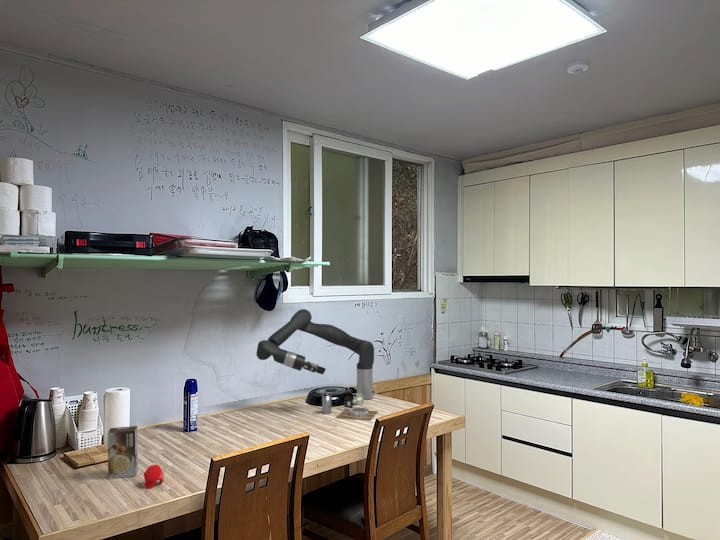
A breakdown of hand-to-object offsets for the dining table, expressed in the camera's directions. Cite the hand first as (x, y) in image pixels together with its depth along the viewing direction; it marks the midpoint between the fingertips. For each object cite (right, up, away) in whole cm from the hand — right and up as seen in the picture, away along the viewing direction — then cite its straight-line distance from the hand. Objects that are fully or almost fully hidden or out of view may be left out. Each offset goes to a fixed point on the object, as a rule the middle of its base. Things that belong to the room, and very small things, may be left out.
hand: (324, 371), depth 256 cm
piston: (+1, -22, +1) cm, 22 cm away
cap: (-51, -21, -86) cm, 103 cm away
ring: (+18, -21, -3) cm, 28 cm away
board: (+17, -22, -3) cm, 28 cm away
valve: (+15, -23, +17) cm, 32 cm away
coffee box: (-66, -21, -77) cm, 104 cm away
